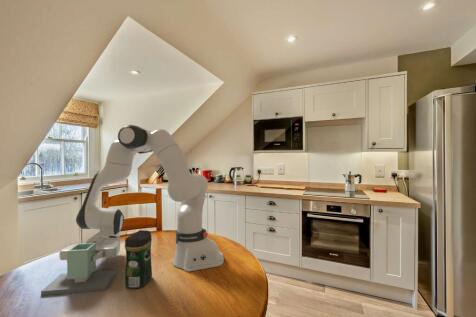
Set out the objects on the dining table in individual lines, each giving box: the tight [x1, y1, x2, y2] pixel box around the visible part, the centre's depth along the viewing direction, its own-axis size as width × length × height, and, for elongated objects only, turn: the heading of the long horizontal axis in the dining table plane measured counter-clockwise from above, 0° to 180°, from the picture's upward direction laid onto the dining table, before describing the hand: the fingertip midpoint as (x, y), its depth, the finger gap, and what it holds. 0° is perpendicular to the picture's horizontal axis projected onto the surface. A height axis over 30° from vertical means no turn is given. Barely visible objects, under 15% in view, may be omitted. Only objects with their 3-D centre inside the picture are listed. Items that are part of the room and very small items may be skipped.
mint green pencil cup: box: [66, 242, 97, 279], centre depth 82 cm, size 6×6×10 cm
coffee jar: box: [124, 229, 153, 290], centre depth 83 cm, size 10×8×19 cm
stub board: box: [40, 269, 118, 296], centre depth 82 cm, size 20×11×6 cm, turn 100°
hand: (80, 260), depth 81 cm, fingers closed on mint green pencil cup, 6 cm apart
